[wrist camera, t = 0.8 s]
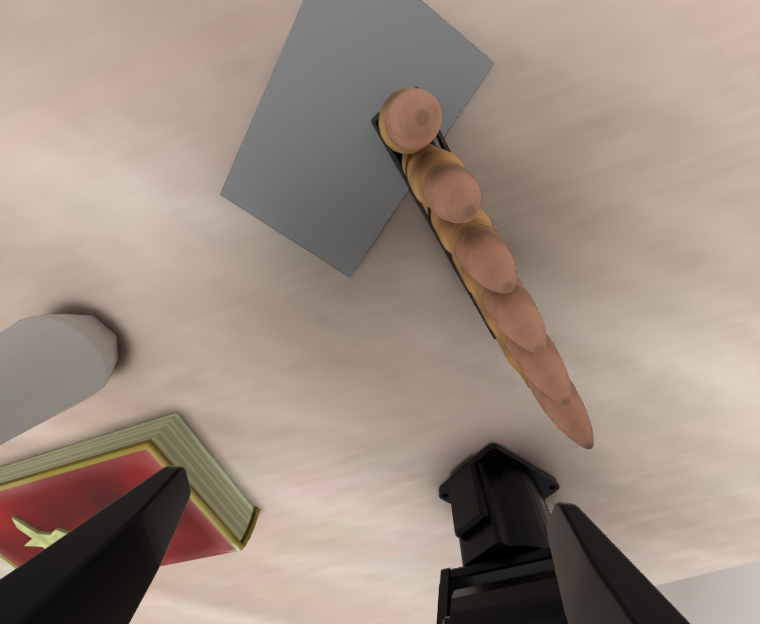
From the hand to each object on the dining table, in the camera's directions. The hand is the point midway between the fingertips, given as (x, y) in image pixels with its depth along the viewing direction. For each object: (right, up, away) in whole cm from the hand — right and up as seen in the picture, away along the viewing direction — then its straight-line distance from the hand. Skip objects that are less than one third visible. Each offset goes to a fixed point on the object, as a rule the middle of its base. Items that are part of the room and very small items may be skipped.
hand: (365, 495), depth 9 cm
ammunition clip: (+4, +10, +10) cm, 14 cm away
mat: (-1, +13, +9) cm, 16 cm away
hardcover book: (-22, -11, +22) cm, 33 cm away
